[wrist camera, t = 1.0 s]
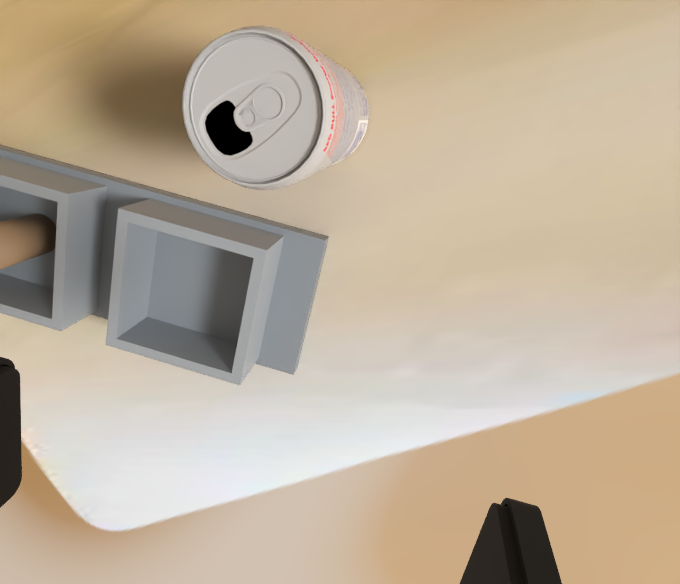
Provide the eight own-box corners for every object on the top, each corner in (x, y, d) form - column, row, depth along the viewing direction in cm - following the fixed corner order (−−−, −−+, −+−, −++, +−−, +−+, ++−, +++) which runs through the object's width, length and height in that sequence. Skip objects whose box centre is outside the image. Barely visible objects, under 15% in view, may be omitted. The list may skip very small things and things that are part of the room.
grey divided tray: (-40, 267, 35) (-129, 295, 29) (-42, 133, 32) (-143, 135, 26) (296, 367, 33) (271, 417, 28) (328, 236, 30) (306, 263, 25)
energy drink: (255, 96, 28) (145, 81, 17) (338, 41, 27) (276, -16, 16) (305, 182, 29) (231, 221, 18) (387, 133, 28) (362, 143, 17)
